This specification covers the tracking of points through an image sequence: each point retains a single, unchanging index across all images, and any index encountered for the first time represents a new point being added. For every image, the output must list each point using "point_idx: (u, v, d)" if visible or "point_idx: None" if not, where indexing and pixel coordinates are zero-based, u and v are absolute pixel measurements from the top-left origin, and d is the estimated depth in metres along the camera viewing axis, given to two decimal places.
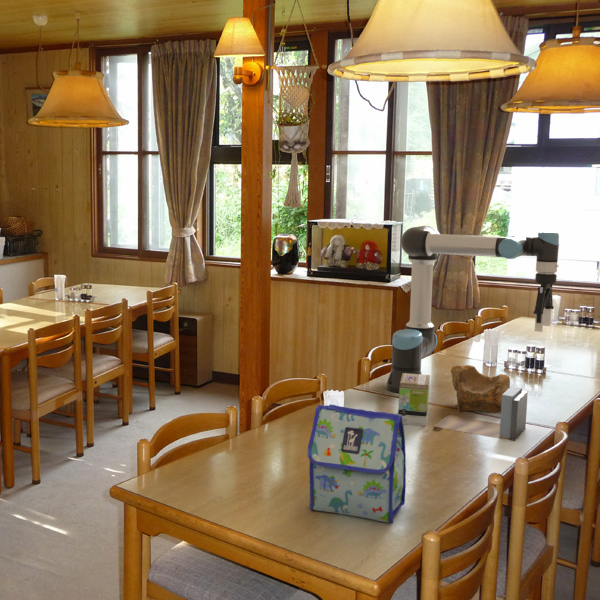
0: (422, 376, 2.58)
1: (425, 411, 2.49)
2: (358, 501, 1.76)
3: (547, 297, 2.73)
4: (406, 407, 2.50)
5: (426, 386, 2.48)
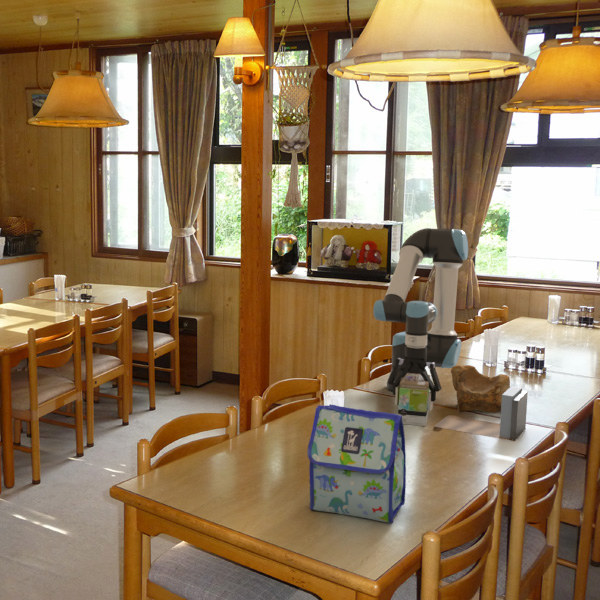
0: None
1: (425, 411, 2.49)
2: (358, 501, 1.76)
3: (404, 371, 2.55)
4: (406, 407, 2.50)
5: (426, 386, 2.48)
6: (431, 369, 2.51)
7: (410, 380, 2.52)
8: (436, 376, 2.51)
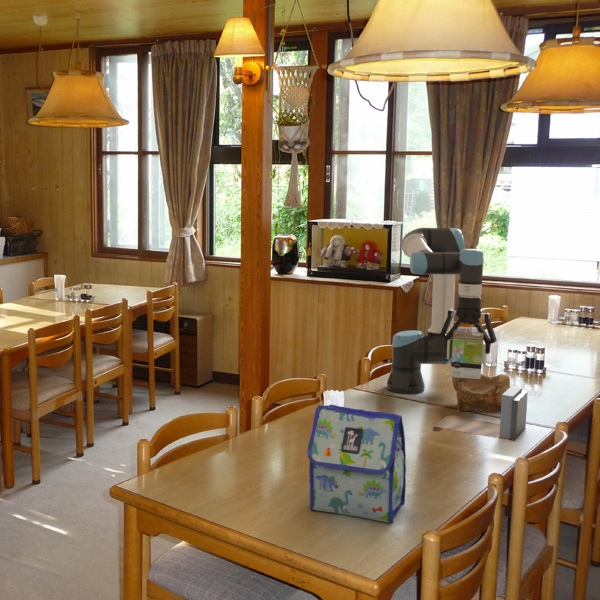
0: (475, 328, 2.47)
1: (480, 363, 2.38)
2: (358, 501, 1.76)
3: (457, 322, 2.44)
4: (460, 359, 2.39)
5: (481, 337, 2.36)
6: (486, 320, 2.39)
7: (464, 331, 2.41)
8: (491, 327, 2.40)
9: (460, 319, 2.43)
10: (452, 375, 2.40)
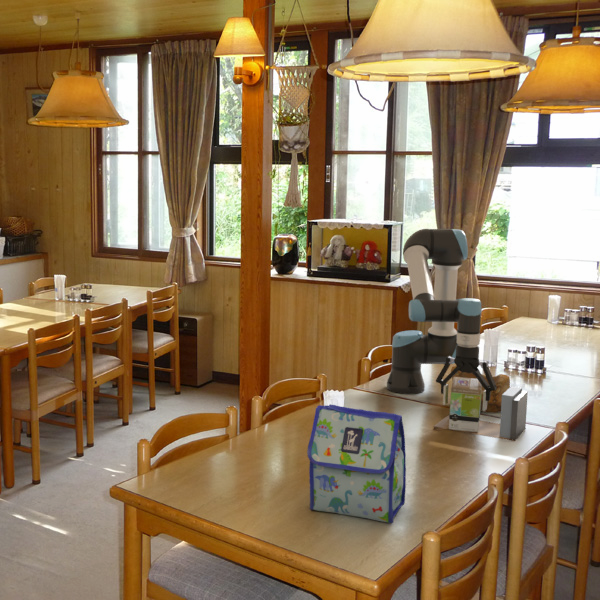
0: (474, 380, 2.50)
1: (478, 417, 2.40)
2: (358, 501, 1.76)
3: (455, 370, 2.47)
4: (458, 412, 2.42)
5: (479, 391, 2.39)
6: (484, 368, 2.42)
7: (462, 384, 2.43)
8: (490, 375, 2.42)
9: (458, 367, 2.46)
10: (450, 427, 2.43)
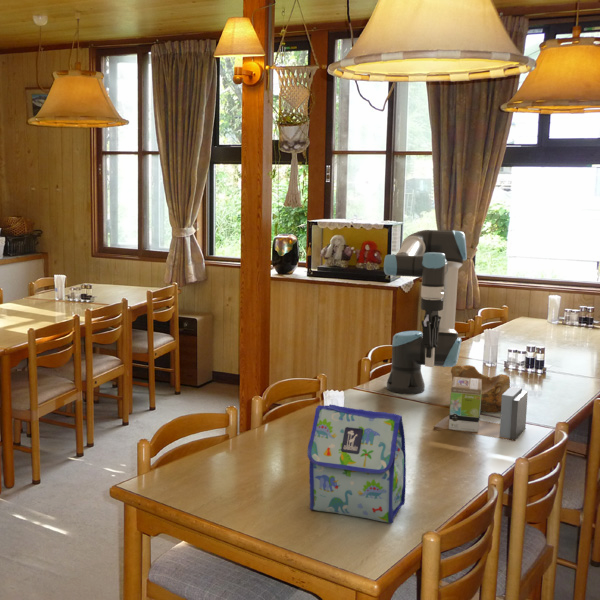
0: (474, 380, 2.50)
1: (478, 417, 2.40)
2: (358, 501, 1.76)
3: (434, 327, 2.49)
4: (458, 412, 2.42)
5: (479, 391, 2.39)
6: (439, 322, 2.54)
7: (462, 384, 2.43)
8: None
9: (434, 322, 2.48)
10: (450, 427, 2.43)
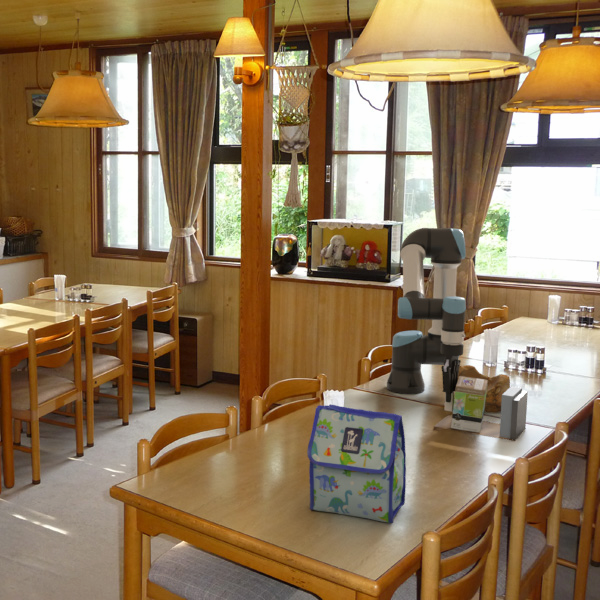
0: (480, 381, 2.49)
1: (480, 417, 2.40)
2: (358, 501, 1.76)
3: (454, 371, 2.47)
4: (461, 412, 2.41)
5: (483, 391, 2.38)
6: (459, 365, 2.52)
7: (467, 384, 2.43)
8: None
9: (454, 367, 2.47)
10: (452, 426, 2.43)
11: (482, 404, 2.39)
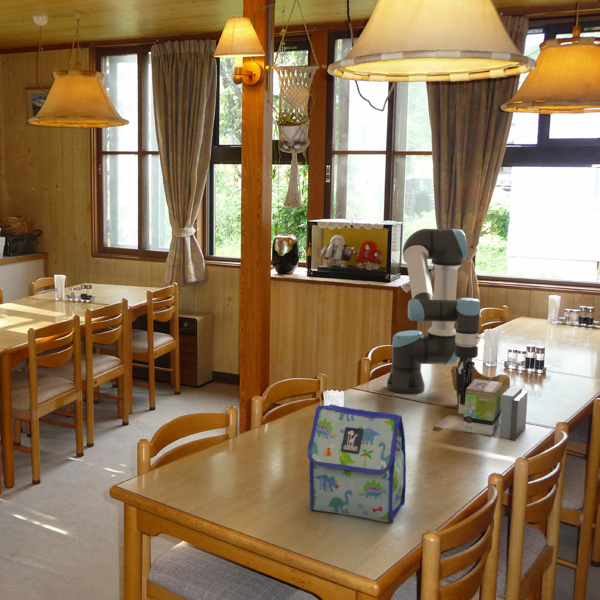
0: (493, 383, 2.46)
1: (492, 420, 2.37)
2: (358, 501, 1.76)
3: (468, 374, 2.45)
4: (472, 414, 2.39)
5: (493, 393, 2.36)
6: (473, 367, 2.50)
7: (478, 386, 2.41)
8: None
9: (469, 369, 2.44)
10: (464, 429, 2.41)
11: (493, 406, 2.36)
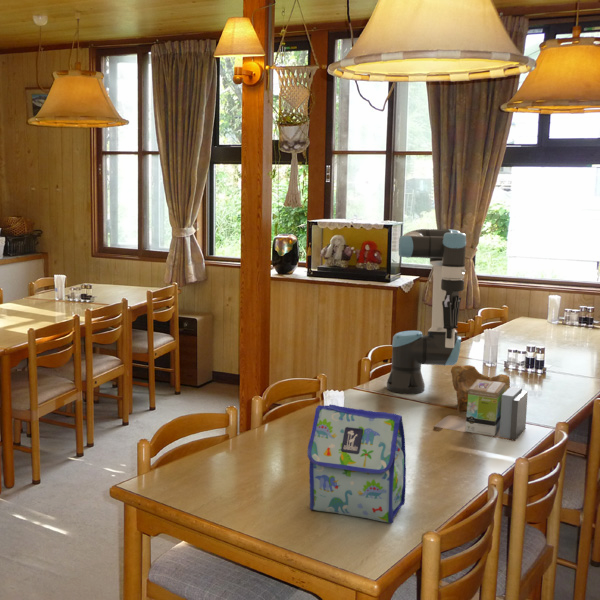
0: (496, 384, 2.46)
1: (494, 420, 2.37)
2: (358, 501, 1.76)
3: (455, 307, 2.47)
4: (474, 415, 2.39)
5: (496, 394, 2.35)
6: (459, 303, 2.52)
7: (480, 387, 2.41)
8: None
9: (455, 303, 2.47)
10: (466, 430, 2.41)
11: (495, 407, 2.36)
